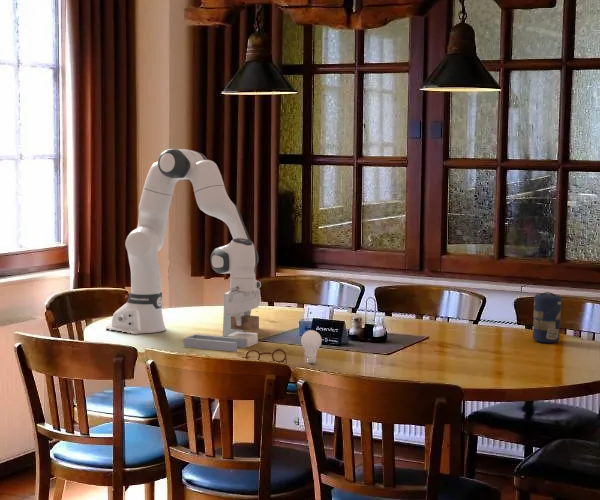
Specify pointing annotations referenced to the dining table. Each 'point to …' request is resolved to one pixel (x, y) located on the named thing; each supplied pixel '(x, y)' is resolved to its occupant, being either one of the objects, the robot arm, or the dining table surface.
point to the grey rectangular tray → (214, 342)
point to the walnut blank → (246, 323)
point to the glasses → (269, 353)
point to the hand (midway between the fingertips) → (242, 324)
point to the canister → (546, 317)
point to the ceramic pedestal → (246, 337)
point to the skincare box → (228, 320)
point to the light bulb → (311, 344)
